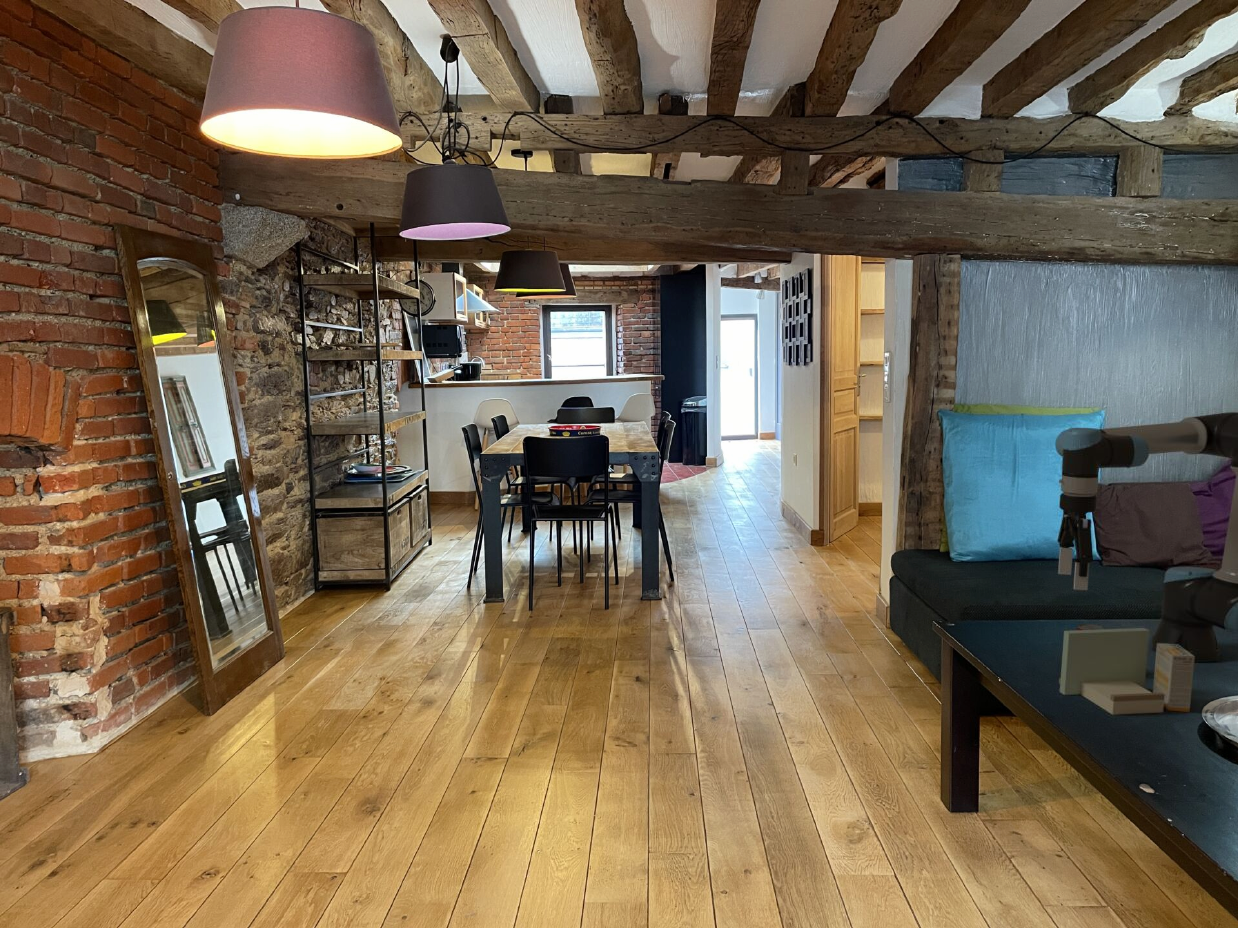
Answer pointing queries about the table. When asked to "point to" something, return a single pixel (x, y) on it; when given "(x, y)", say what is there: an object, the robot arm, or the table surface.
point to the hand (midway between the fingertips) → (1072, 581)
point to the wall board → (1109, 669)
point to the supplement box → (1174, 676)
